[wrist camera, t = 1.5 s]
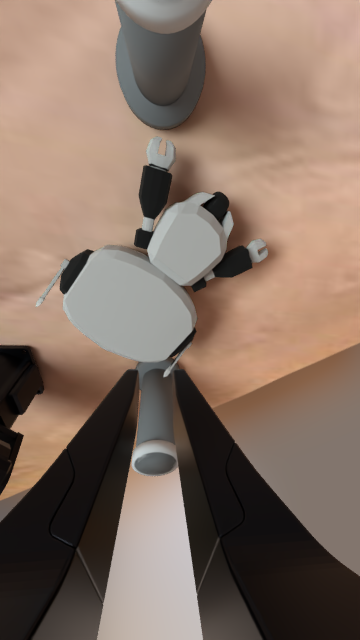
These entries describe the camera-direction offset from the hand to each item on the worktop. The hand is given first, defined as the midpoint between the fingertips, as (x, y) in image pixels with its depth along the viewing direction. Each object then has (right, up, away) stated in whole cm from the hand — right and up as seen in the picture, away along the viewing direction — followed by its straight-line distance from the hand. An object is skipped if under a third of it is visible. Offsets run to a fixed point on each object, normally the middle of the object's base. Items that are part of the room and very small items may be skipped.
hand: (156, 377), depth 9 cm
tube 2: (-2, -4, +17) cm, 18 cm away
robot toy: (-1, +7, +12) cm, 13 cm away
